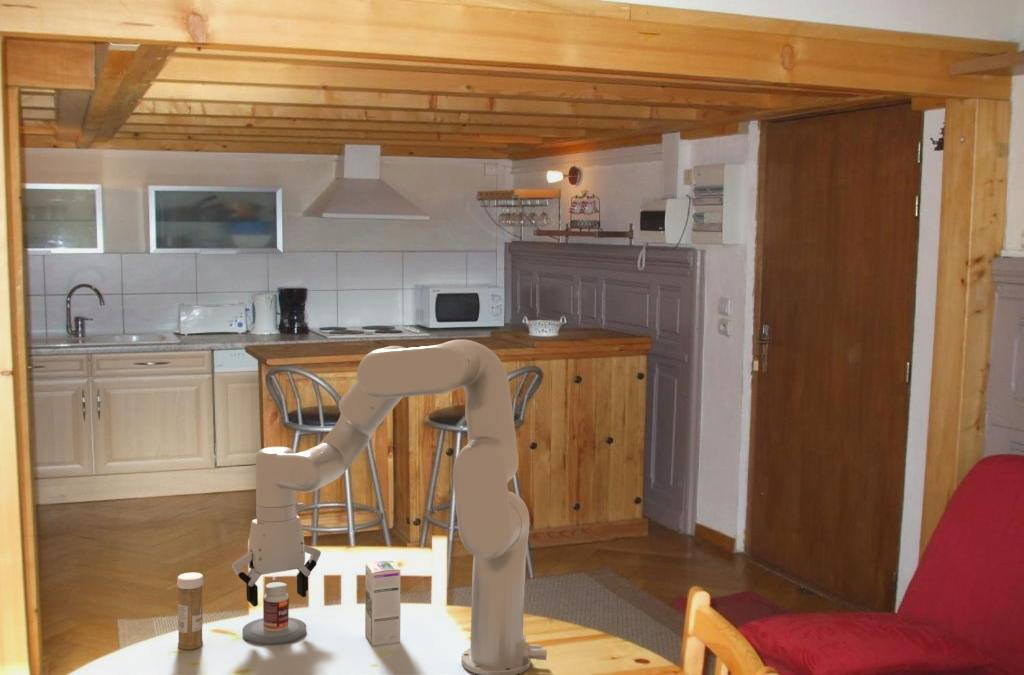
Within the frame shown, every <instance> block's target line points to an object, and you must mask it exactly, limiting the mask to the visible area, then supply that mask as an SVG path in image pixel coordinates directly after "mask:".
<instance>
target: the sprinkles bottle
mask: <svg viewBox="0 0 1024 675" xmlns="http://www.w3.org/2000/svg"><path fill="white" fill-rule="evenodd" d="M176 583H177V589H178V591H177V593H178V597H177V598H178V599H177V600H178V601H177V630H178V642H177V647H178V648H179V649H181V650H185V651H189V650H196V649H200V648H201V647H202V646H203V644H204V640H203V585H204V576H203V574H202V573H200V572H193V571H192V572H191V571H190V572H185V573H181V574H179V575H177V579H176Z"/></svg>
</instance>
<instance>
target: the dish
mask: <svg viewBox="0 0 1024 675" xmlns="http://www.w3.org/2000/svg"><path fill="white" fill-rule="evenodd" d="M306 634H307V625H306V623H305V622H304V621H303V620H300V619H298V618H293V617H291V616H290V617H289V616H288V628H286V629H285V630H282V631H277V632H272V631H267V630H265V629H264V628H263V617H262V618H259V619H255V620H252V621H250V622H248V623H246V624H245V625H244V626H243V627H242V638H243V639H244V640H245V641H247V642H249V643H251V644H255V645H260V646H280V645H287V644H291V643H293V642H296V641H299V640H301V639H303V638H304V637H305V635H306Z"/></svg>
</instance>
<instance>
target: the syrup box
mask: <svg viewBox="0 0 1024 675" xmlns="http://www.w3.org/2000/svg"><path fill="white" fill-rule="evenodd" d="M364 587H365V590H364V591H365V601H364V602H365V605H364V607H365V608H364V609H365V610H364V611H365V612H364V613H365V615H364V616H365V617H364V619H365V620H364V622H365V629H364V635H365V638H366V639H367V640H368V642H369V643H370V644H371V646H372V647H374V646H375V647H376V646H377V647H378V646H386V645H387V646H388V645H395V644H400V643H401V569H400V568H399V566H397V564H395V562H394V561H392V560H386V561H385V560H383V561H382V560H381V561H375V562H370V563H365V586H364Z"/></svg>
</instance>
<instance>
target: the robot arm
mask: <svg viewBox="0 0 1024 675" xmlns="http://www.w3.org/2000/svg"><path fill="white" fill-rule="evenodd" d="M356 378H357V380H356V381H354V383H353V384H352V386H351V387H350V388H349V389H348V390H347V392H346V393H345V394H344V395H343V396H342V397H341V399H340V400H339V403H338V410H339V413H340V415H339V418H338V420H337V421H336V423H335V424H334V426H333V427H332V429H331V430H329V432H328V433H327V434H326V436H325V437H324V438H323V439H322V440H321V441H320V443H318V444H317V445H316V446H313V447H311V448H308V449H306V450H303V451H299V452H297V453H296V452H295V451H294V449H293V448H290V447H288V446H287V447H286V446H268V447H263V448H261V449H259V450H258V451H257V453H256V455H255V499H256V502H255V505H256V506H255V508H256V509H255V510H256V514H255V515H256V518H255V519H252V521H251V523H250V524H251V525H250V529H249V530H250V531H249V538H248V551H247V553H246V554H244V555H242V556H241V557H240V558H238V559H237V560H235V561H234V562H232V564H231V567H232V569H233V571H234V572H235V574H236V576H237V578H239V579H240V580H242V581H243V582H244V583H246V584H245V585H246V586H245V587H246V589H245V590H246V601H247V602H248V603H249V604H250V605H252V606H253V607H258V605H259V597H258V596H259V592H258V590H259V589H258V588H259V586H258V585H257V584H256V583H257V582H258V580H259V578H260V577H261V576H263V575H270V574H275V573H277V574H278V573H281V572H287V571H288V572H289V571H292V570H297V571H298V572H297V574H296V593H297V594H298V595H299V596H300V597H302V598H306V597H307V592H308V591H309V577H310V576H311V572H312V571H313V570H314V568H315V567H316V566H317V562H318V561H319V558H320V557H321V553H322V552H321V550H319V549H318V548H315V547H313V546H310V545H307V544H305V538H304V531H303V526H302V521H301V517H300V516H299V512H300V511H302V510H304V509H305V508H304V503H303V502H298V501H297V499H298V498H297V497H298V496H297V493H311V492H315V491H317V490H319V489H320V488H323V487H324V486H326V485H328V484H330V483H332V482H334V481H336V480H337V479H339V478H341V477H342V475H343V474H344V473H345V472H346V471H348V469H349V468H350V467H351V466H352V464H353V463H354V462H355V461H356V459H357V458H358V457H359V456H360V455H361V454H362V453H363V451H364V450H365V448H366V447H367V445H368V444H369V442H370V441H371V439H372V437H374V434H375V432H376V430H377V429H378V428H379V426H380V425H381V424H382V422H383V421H384V420H385V419H386V418H387V416H388V415H389V414H390V413H391V412H392V411H393V409H394V408H395V407H396V406H397V405H398V404H399V403H400V401H401V400H402V399H403V398H406V397H407V398H408V397H409V398H410V397H418V396H433V395H443V394H447V393H451V392H454V391H456V390H458V389H463V390H464V392H465V406H464V407H465V410H464V411H465V414H464V415H465V416H464V417H465V422H466V430H467V444H466V445H465V446H463V447H462V449H460V451H459V452H458V453H457V454H456V458H455V460H454V464H453V468H452V482H453V490H454V491H453V493H454V500H455V501H454V502H455V511H456V519H457V520H456V521H457V528H458V529H457V530H458V533H459V538H460V541H461V543H462V545H463V547H464V548H465V550H466V551H467V552H468V553H469V554H470V555H471V556H473V560H472V578H471V579H472V582H471V612H470V613H471V615H470V616H471V618H470V647H469V648H468V649H467V650H465V651H464V652H463V653H462V655H461V665H462V667H464V668H465V669H466V670H467V671H469V672H471V673H473V674H476V675H519V674H521V673H524V672H525V671H527V670H528V669H529V668H530V667H531V663H532V661H531V660H532V659H533V660H537V661H546V660H547V659H548V658H547V657H548V649H546V648H542V644H530V643H529V642H527V635H524V615H525V614H524V612H525V611H524V610H525V587H526V586H525V583H526V582H525V581H526V564H527V551H528V544H529V543H528V541H529V535H530V521H531V520H530V512H529V510H528V507H527V505H526V502H525V501H524V500H523V498H521V497H520V496H519V495H518V494H517V493H514V492H512V491H509V487H508V486H509V485H508V483H509V482H510V481H511V480H513V478H514V476H515V475H516V474H517V472H518V469H519V462H520V459H519V452H518V444H517V436H516V435H517V434H516V427H515V419H514V413H513V404H512V403H513V402H512V395H511V394H512V393H511V388H510V387H511V386H510V381H509V377H508V373H507V370H506V368H505V366H504V364H503V362H502V361H501V359H500V358H499V357H498V355H497V354H496V353H495V352H494V351H492V350H491V349H490V348H488V347H487V346H485V345H484V344H482V343H479V342H476V341H473V340H470V339H453V340H449V341H446V342H444V343H443V342H442V343H439V344H435V345H429V346H428V345H427V346H419V347H408V348H406V347H405V346H401V345H389V346H386V347H381V348H378V349H377V348H376V349H374V350H372V351H370V352H369V353H367V354H366V355H365V356H364V357H363V358H362V359H361V361H360V363H359V365H358V367H357V372H356ZM306 553H307V554H309V555H310V556H309V558H308V560H307V561H306ZM305 562H306V563H305ZM245 565H247V566H248V568H249V571H247V573H246V572H245V571H244V569H243V567H244V566H245Z"/></svg>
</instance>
